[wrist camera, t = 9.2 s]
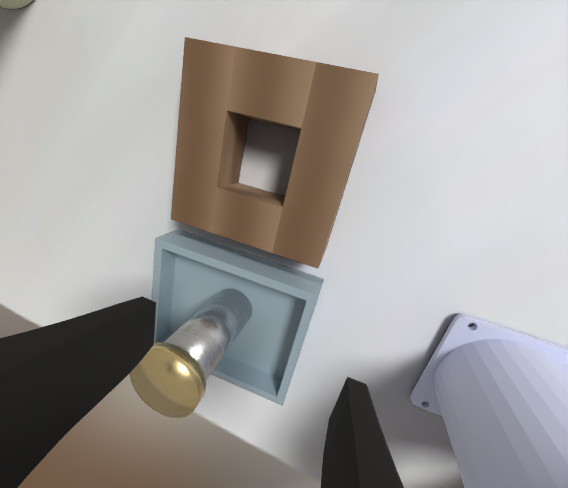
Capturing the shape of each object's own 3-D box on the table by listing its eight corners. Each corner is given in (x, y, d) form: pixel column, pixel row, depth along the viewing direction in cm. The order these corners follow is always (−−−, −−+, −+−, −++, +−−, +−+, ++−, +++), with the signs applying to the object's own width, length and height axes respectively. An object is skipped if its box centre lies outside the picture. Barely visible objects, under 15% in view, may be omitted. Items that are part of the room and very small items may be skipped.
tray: (323, 279, 19) (318, 295, 17) (290, 380, 23) (282, 405, 20) (177, 229, 21) (155, 238, 19) (169, 329, 25) (149, 346, 22)
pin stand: (376, 89, 15) (378, 73, 12) (324, 251, 18) (318, 268, 16) (214, 57, 17) (184, 37, 14) (197, 210, 20) (170, 219, 17)
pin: (261, 294, 20) (201, 372, 12) (251, 336, 21) (192, 429, 14) (213, 276, 21) (130, 340, 13) (207, 318, 22) (128, 397, 15)
